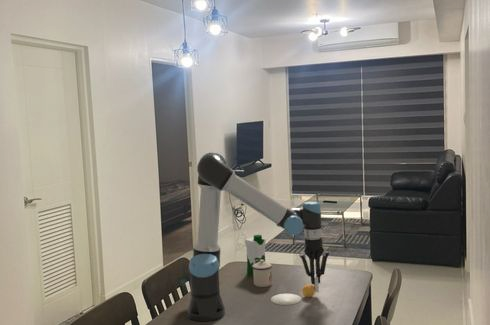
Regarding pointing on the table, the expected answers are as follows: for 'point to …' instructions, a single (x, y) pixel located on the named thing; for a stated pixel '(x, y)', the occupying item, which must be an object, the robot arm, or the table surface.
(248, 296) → the table surface
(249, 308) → the table surface
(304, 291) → the ball
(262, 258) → the milk carton
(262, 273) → the teacup with lid
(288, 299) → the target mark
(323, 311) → the table surface
